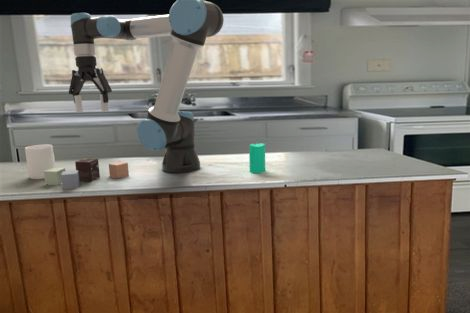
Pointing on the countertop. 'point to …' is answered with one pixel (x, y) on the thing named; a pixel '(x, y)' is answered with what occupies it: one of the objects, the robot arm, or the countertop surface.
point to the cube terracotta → (118, 169)
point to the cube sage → (53, 176)
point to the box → (88, 169)
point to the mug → (39, 160)
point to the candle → (257, 158)
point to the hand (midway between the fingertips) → (92, 111)
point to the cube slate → (70, 179)
